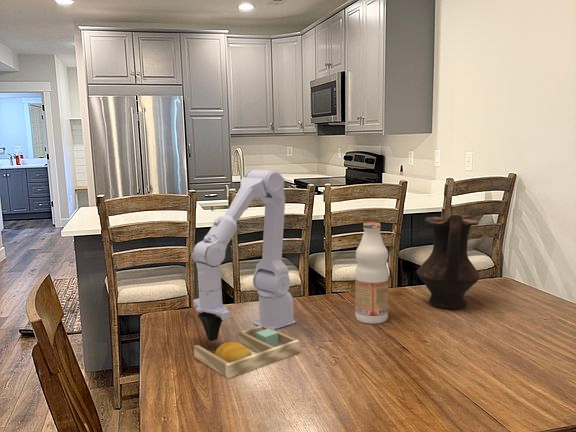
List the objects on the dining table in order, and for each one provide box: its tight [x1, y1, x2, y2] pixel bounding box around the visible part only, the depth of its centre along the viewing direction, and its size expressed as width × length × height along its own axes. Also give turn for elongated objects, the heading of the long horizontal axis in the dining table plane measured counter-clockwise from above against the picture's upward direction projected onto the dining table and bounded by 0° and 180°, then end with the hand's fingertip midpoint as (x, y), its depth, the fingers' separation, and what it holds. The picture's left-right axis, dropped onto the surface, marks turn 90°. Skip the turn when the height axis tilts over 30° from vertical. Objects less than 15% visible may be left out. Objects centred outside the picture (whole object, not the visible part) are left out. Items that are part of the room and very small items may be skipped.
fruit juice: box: [354, 221, 389, 325], centre depth 149 cm, size 9×9×28 cm
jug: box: [416, 213, 480, 310], centre depth 159 cm, size 21×18×30 cm
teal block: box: [256, 329, 279, 347], centre depth 132 cm, size 4×4×4 cm
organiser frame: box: [193, 325, 301, 379], centre depth 128 cm, size 21×15×3 cm
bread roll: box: [214, 341, 252, 363], centre depth 125 cm, size 8×9×4 cm
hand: (212, 339), depth 134 cm, fingers closed
